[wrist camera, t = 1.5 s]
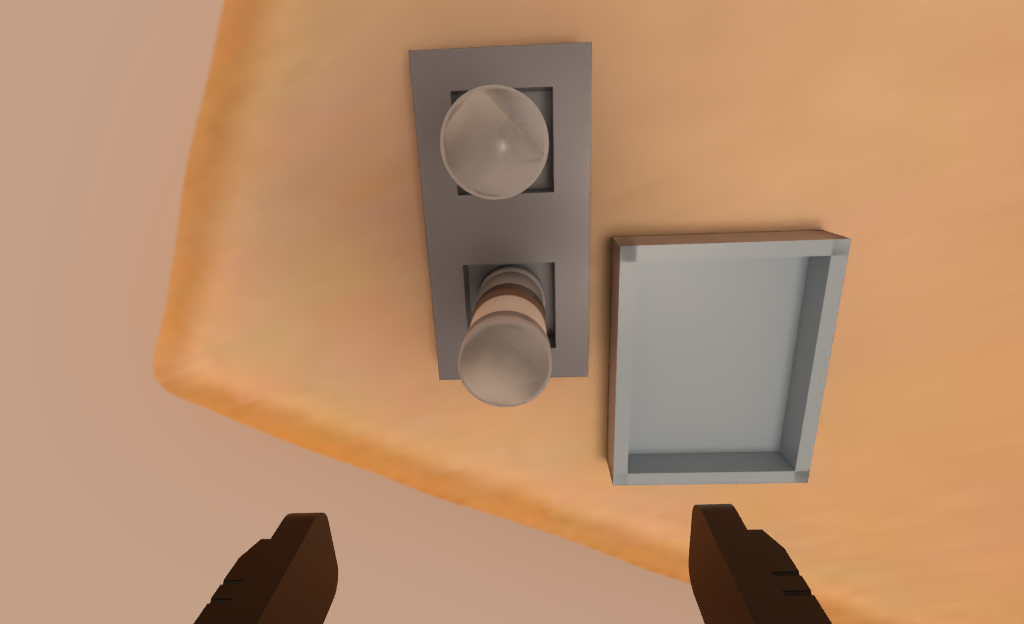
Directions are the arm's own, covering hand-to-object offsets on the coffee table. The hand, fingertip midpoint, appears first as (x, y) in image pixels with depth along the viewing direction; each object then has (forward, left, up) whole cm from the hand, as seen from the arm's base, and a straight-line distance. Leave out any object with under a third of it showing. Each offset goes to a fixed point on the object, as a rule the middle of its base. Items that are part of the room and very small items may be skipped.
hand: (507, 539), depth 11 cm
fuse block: (-4, 0, -18) cm, 19 cm away
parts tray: (+4, +11, -18) cm, 21 cm away
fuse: (-8, 0, -18) cm, 19 cm away
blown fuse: (0, 0, -18) cm, 18 cm away
